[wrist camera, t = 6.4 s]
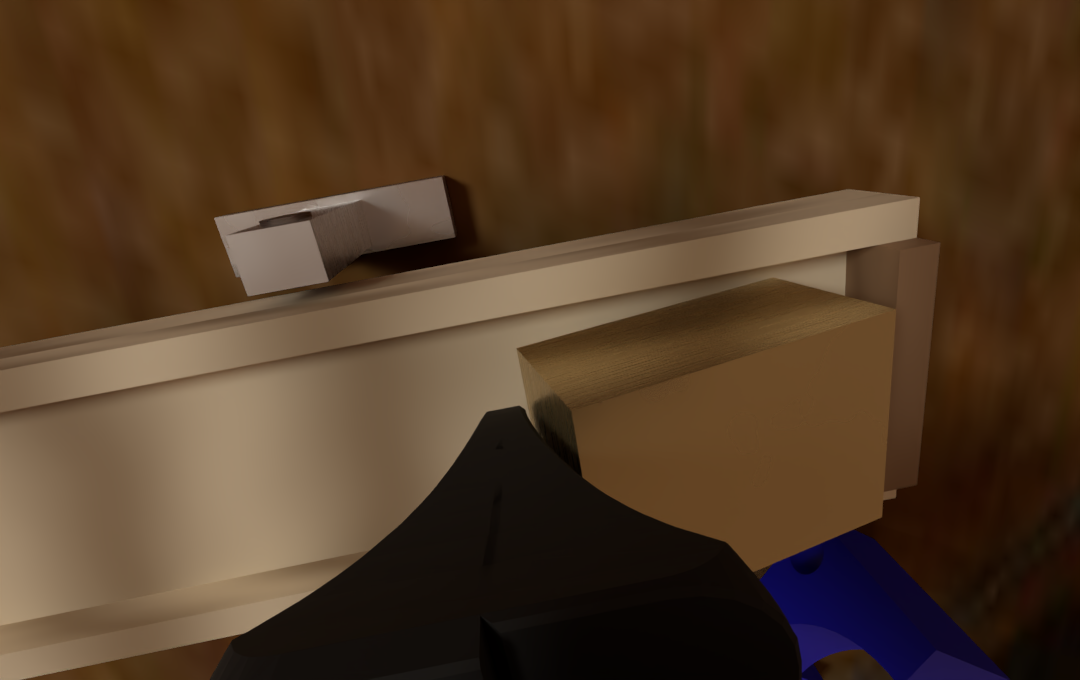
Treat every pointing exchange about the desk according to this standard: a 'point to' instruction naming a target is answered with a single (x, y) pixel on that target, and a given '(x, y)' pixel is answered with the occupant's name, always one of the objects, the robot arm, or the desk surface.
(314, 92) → the desk surface
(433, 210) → the pivot stand
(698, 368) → the block
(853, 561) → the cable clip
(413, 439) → the balance beam
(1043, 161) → the desk surface
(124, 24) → the desk surface
